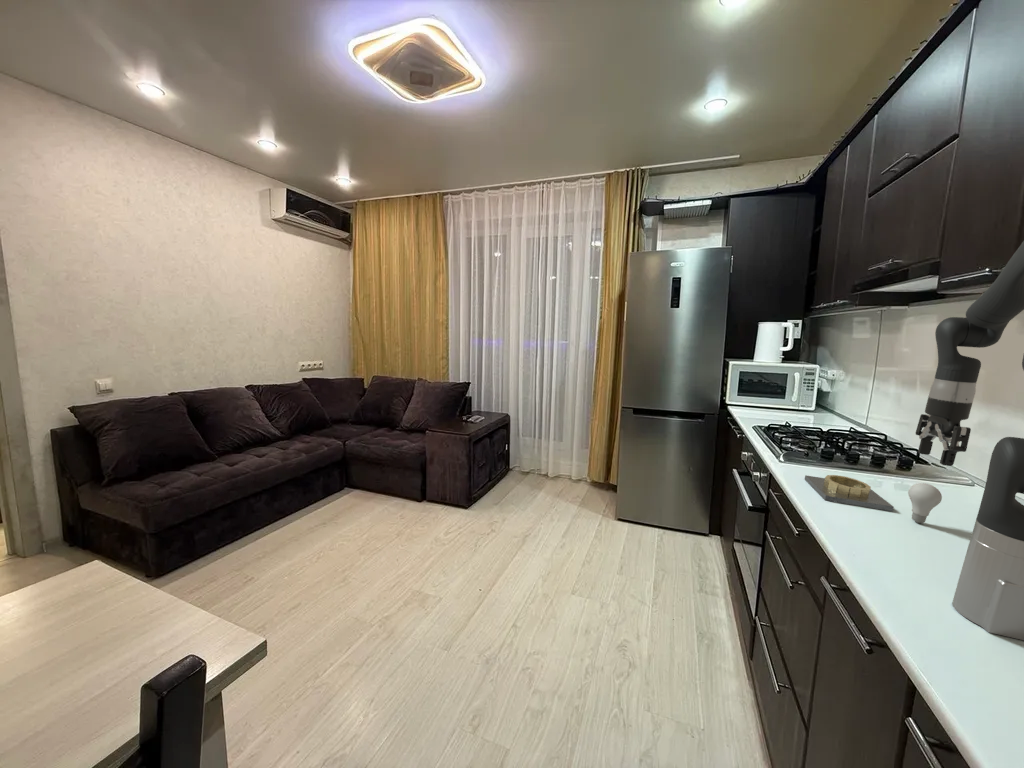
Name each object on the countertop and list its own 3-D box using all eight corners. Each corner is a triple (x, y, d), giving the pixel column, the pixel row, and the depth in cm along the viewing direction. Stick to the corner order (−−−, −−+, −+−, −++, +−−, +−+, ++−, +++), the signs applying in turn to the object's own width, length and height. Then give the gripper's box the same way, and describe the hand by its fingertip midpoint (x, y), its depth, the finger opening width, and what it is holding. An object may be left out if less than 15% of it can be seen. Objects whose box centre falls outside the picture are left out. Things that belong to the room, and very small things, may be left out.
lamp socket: (892, 511, 110) (895, 498, 109) (824, 500, 115) (827, 487, 114) (863, 488, 125) (866, 476, 124) (804, 479, 130) (806, 468, 129)
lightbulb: (940, 530, 101) (951, 490, 99) (913, 526, 102) (923, 487, 100) (921, 518, 107) (931, 480, 105) (895, 515, 108) (904, 478, 106)
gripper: (993, 406, 90) (974, 472, 93) (949, 394, 103) (934, 452, 106) (951, 402, 93) (934, 466, 96) (913, 391, 106) (899, 448, 109)
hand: (934, 459), depth 101 cm, fingers open, 8 cm apart
